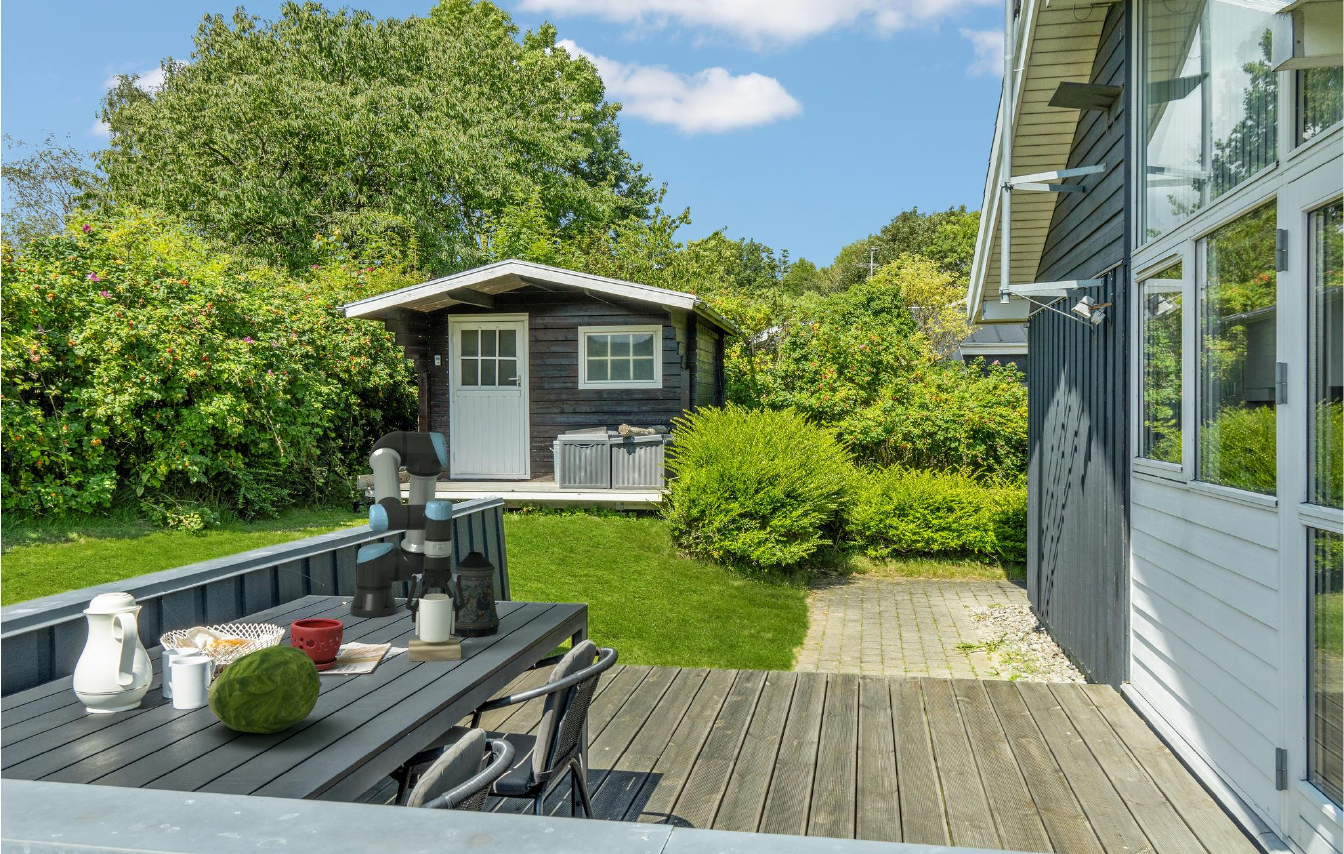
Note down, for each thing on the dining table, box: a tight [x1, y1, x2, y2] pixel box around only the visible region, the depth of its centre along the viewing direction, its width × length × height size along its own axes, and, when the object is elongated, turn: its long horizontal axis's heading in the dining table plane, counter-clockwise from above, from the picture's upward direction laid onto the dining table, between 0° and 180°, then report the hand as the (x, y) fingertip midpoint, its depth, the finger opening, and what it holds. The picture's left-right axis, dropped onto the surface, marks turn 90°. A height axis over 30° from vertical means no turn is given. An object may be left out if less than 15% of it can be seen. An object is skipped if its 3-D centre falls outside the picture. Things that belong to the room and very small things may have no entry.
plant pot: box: [290, 618, 344, 672], centre depth 244 cm, size 13×13×12 cm
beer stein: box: [450, 551, 501, 639], centre depth 290 cm, size 16×19×25 cm
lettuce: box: [207, 644, 321, 735], centre depth 196 cm, size 19×23×18 cm
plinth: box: [407, 636, 462, 663], centre depth 261 cm, size 14×14×3 cm
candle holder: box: [418, 593, 453, 642], centre depth 261 cm, size 10×10×12 cm
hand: (434, 633), depth 261 cm, fingers closed on candle holder, 9 cm apart
